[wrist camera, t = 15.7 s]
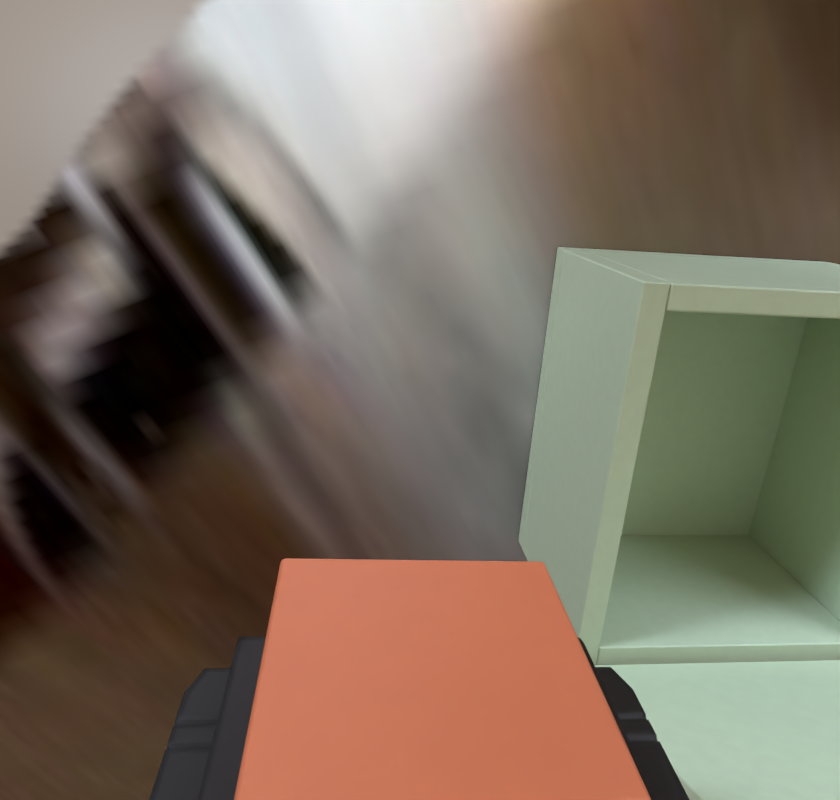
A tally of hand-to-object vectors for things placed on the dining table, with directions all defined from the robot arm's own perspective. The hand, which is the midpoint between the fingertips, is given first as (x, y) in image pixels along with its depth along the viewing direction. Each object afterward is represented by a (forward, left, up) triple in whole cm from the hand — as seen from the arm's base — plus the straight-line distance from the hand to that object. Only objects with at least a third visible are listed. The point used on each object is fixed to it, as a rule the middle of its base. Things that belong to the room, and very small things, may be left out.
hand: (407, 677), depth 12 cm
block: (0, 0, 0) cm, 0 cm away
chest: (+2, +14, -19) cm, 23 cm away
